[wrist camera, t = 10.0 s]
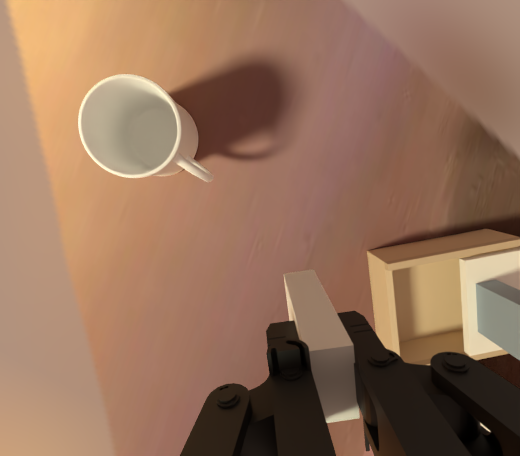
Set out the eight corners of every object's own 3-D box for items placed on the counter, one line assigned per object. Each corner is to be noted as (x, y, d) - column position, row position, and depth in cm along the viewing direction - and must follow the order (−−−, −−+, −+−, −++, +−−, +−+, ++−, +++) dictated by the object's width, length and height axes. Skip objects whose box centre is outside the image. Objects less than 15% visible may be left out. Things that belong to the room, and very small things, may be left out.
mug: (235, 154, 40) (236, 150, 28) (188, 209, 41) (171, 227, 29) (154, 82, 38) (119, 45, 26) (106, 141, 39) (51, 131, 27)
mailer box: (377, 349, 46) (398, 376, 40) (367, 250, 44) (387, 264, 38) (490, 326, 47) (526, 349, 41) (486, 228, 44) (524, 238, 38)
